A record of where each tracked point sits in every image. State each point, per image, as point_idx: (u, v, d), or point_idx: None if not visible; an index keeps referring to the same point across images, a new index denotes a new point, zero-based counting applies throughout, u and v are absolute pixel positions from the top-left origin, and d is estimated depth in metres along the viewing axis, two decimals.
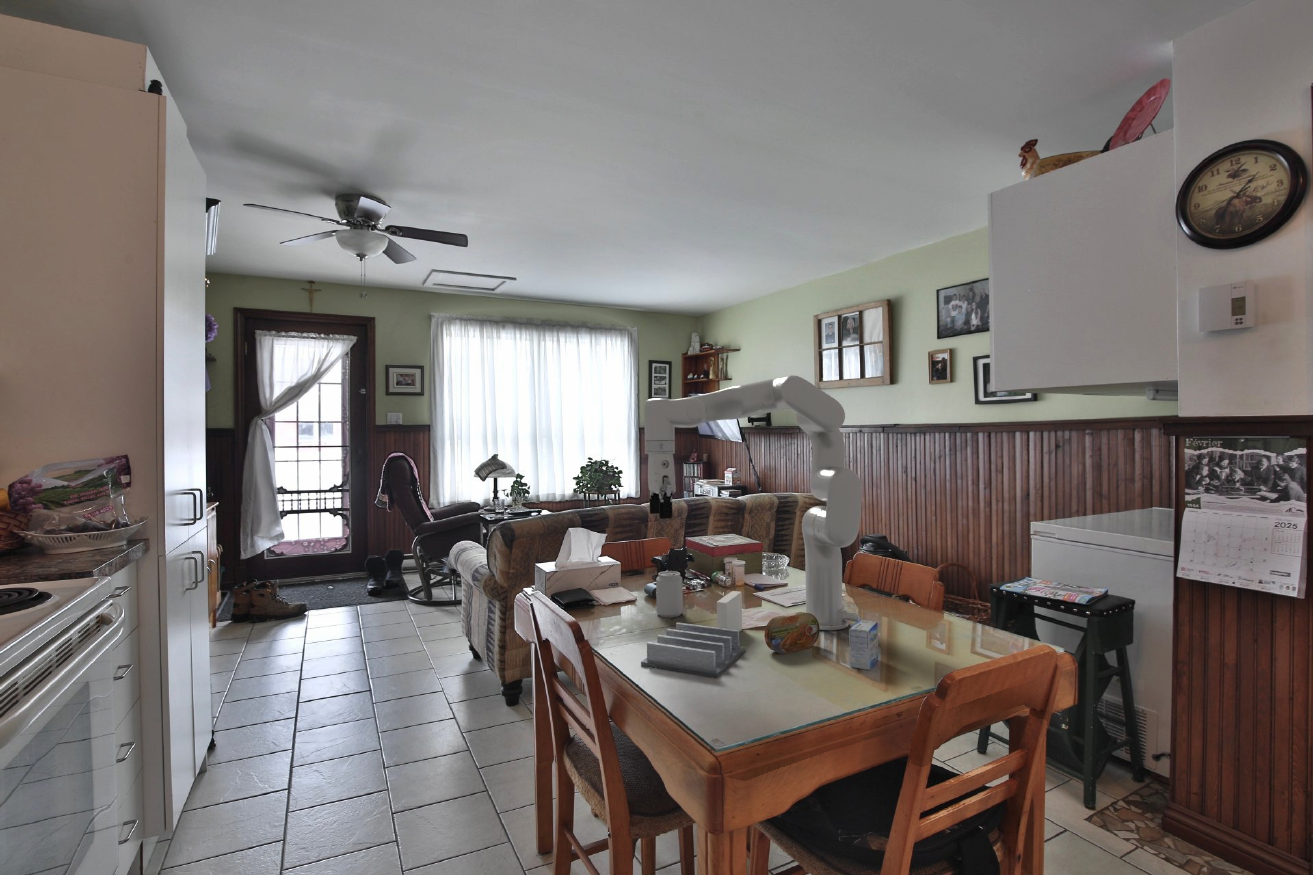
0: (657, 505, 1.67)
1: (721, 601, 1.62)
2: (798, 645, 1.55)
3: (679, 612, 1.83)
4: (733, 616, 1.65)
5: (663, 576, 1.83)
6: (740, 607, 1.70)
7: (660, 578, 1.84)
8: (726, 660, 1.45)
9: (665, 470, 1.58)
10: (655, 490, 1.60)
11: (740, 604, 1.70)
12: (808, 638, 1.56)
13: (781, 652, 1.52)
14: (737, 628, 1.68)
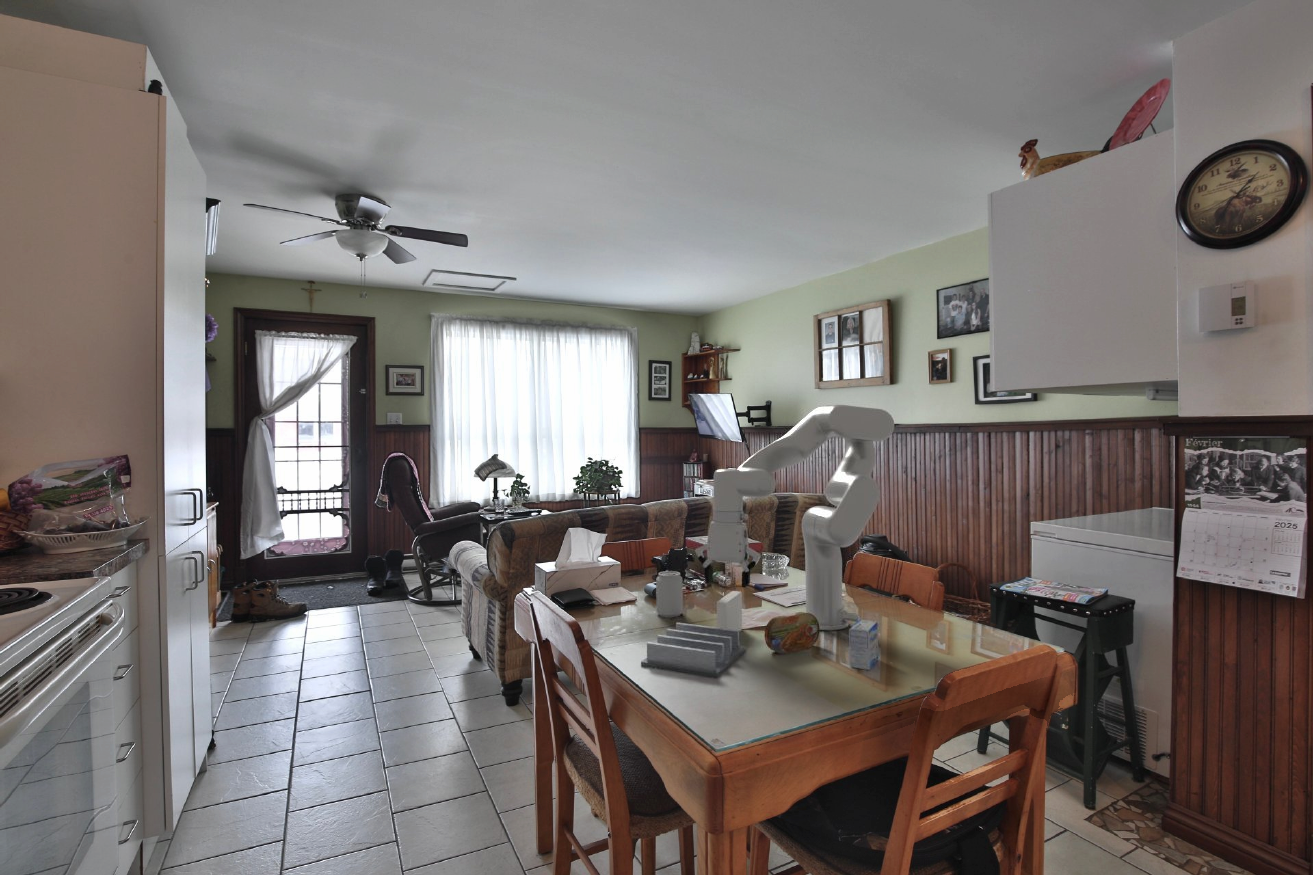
0: (711, 574, 1.68)
1: (721, 601, 1.62)
2: (798, 645, 1.55)
3: (679, 612, 1.83)
4: (733, 616, 1.65)
5: (663, 576, 1.83)
6: (740, 607, 1.70)
7: (660, 578, 1.84)
8: (726, 660, 1.45)
9: (746, 540, 1.64)
10: (736, 560, 1.63)
11: (740, 604, 1.70)
12: (808, 638, 1.56)
13: (781, 652, 1.52)
14: (737, 628, 1.68)
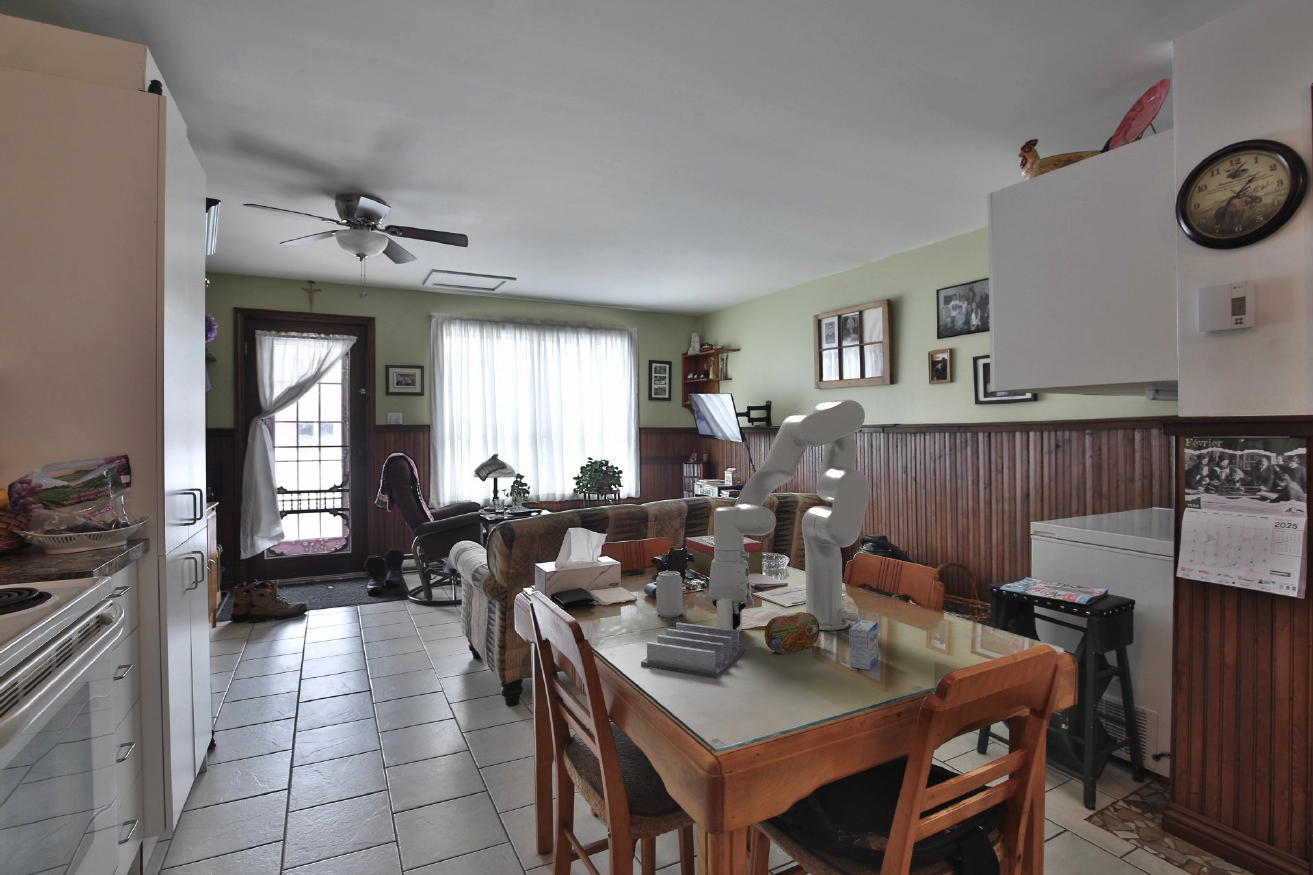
0: None
1: (721, 600, 1.62)
2: (798, 645, 1.55)
3: (679, 612, 1.83)
4: None
5: (663, 576, 1.83)
6: None
7: (660, 578, 1.84)
8: (726, 660, 1.45)
9: (748, 578, 1.64)
10: (738, 599, 1.63)
11: None
12: (808, 638, 1.56)
13: (781, 652, 1.52)
14: (737, 628, 1.68)
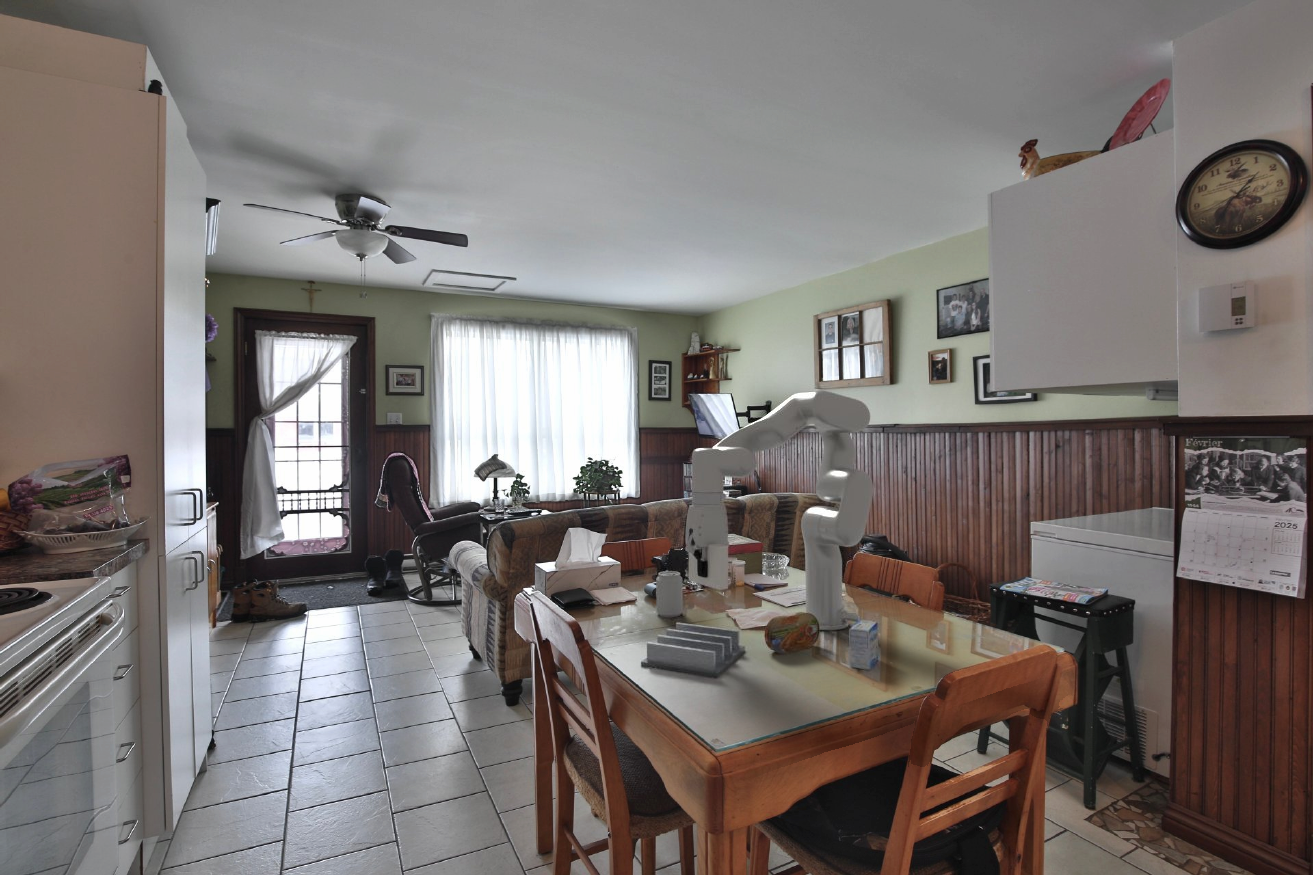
0: None
1: (719, 545, 1.52)
2: (798, 645, 1.55)
3: (679, 612, 1.83)
4: None
5: (663, 576, 1.83)
6: None
7: (660, 578, 1.83)
8: (726, 660, 1.45)
9: None
10: (723, 542, 1.56)
11: None
12: (808, 638, 1.56)
13: (781, 652, 1.52)
14: None
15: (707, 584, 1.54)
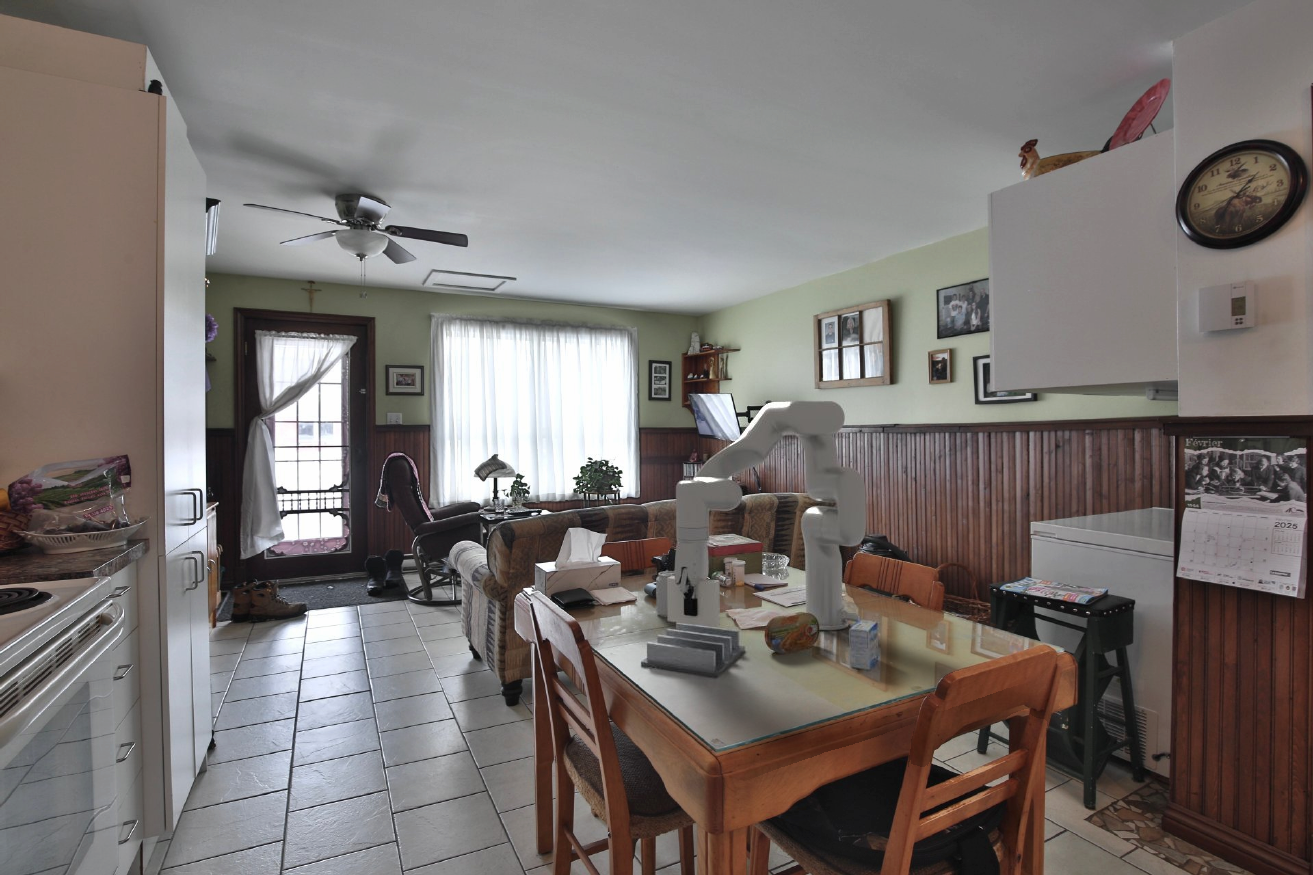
0: None
1: (712, 581, 1.47)
2: (798, 645, 1.55)
3: None
4: None
5: (663, 576, 1.83)
6: None
7: (660, 578, 1.84)
8: (726, 660, 1.45)
9: None
10: (706, 576, 1.52)
11: None
12: (808, 638, 1.56)
13: (781, 652, 1.52)
14: None
15: (697, 622, 1.48)
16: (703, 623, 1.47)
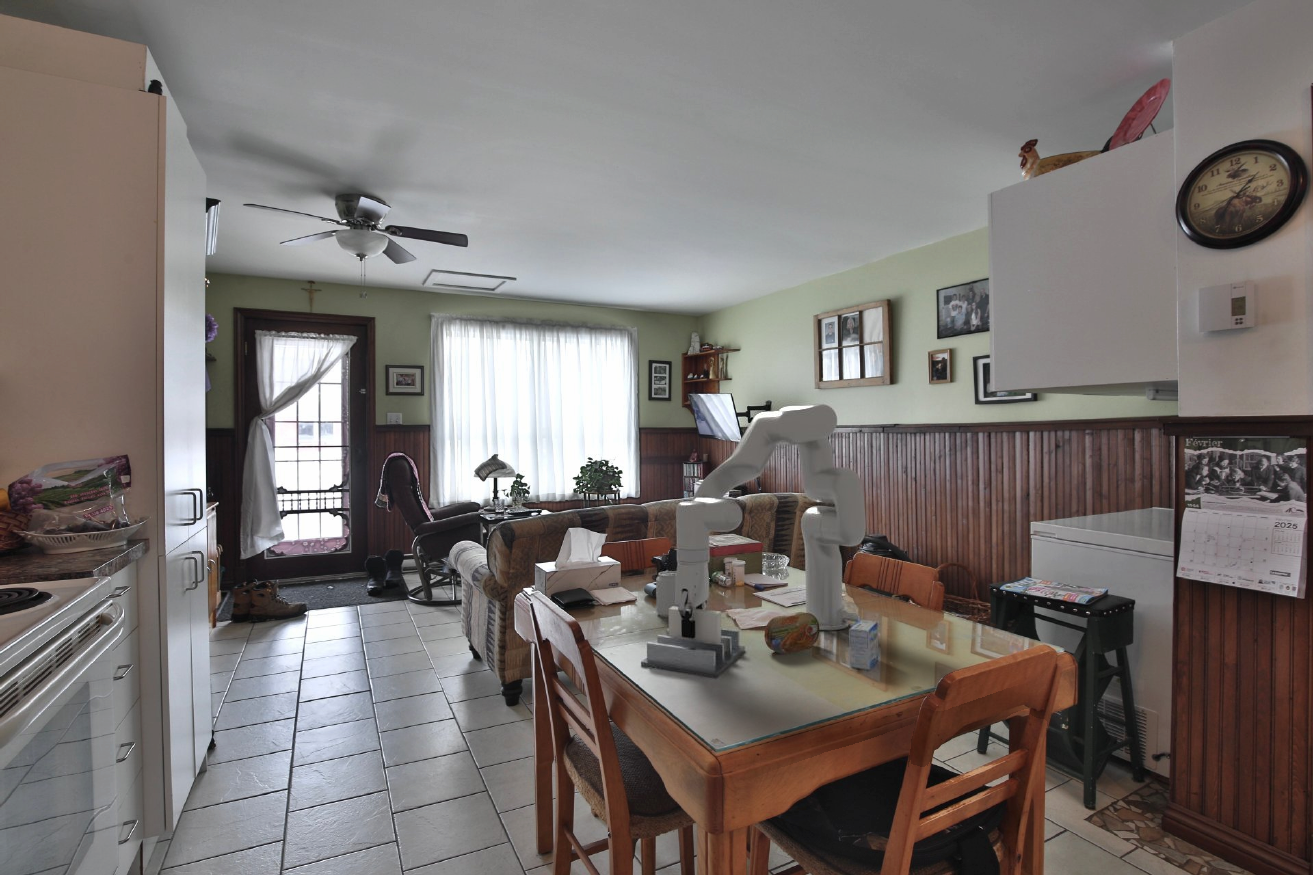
0: None
1: (714, 612, 1.48)
2: (798, 645, 1.55)
3: None
4: None
5: (663, 576, 1.83)
6: None
7: (660, 578, 1.84)
8: (726, 660, 1.45)
9: None
10: (706, 597, 1.52)
11: None
12: (808, 638, 1.56)
13: (781, 652, 1.52)
14: None
15: None
16: None
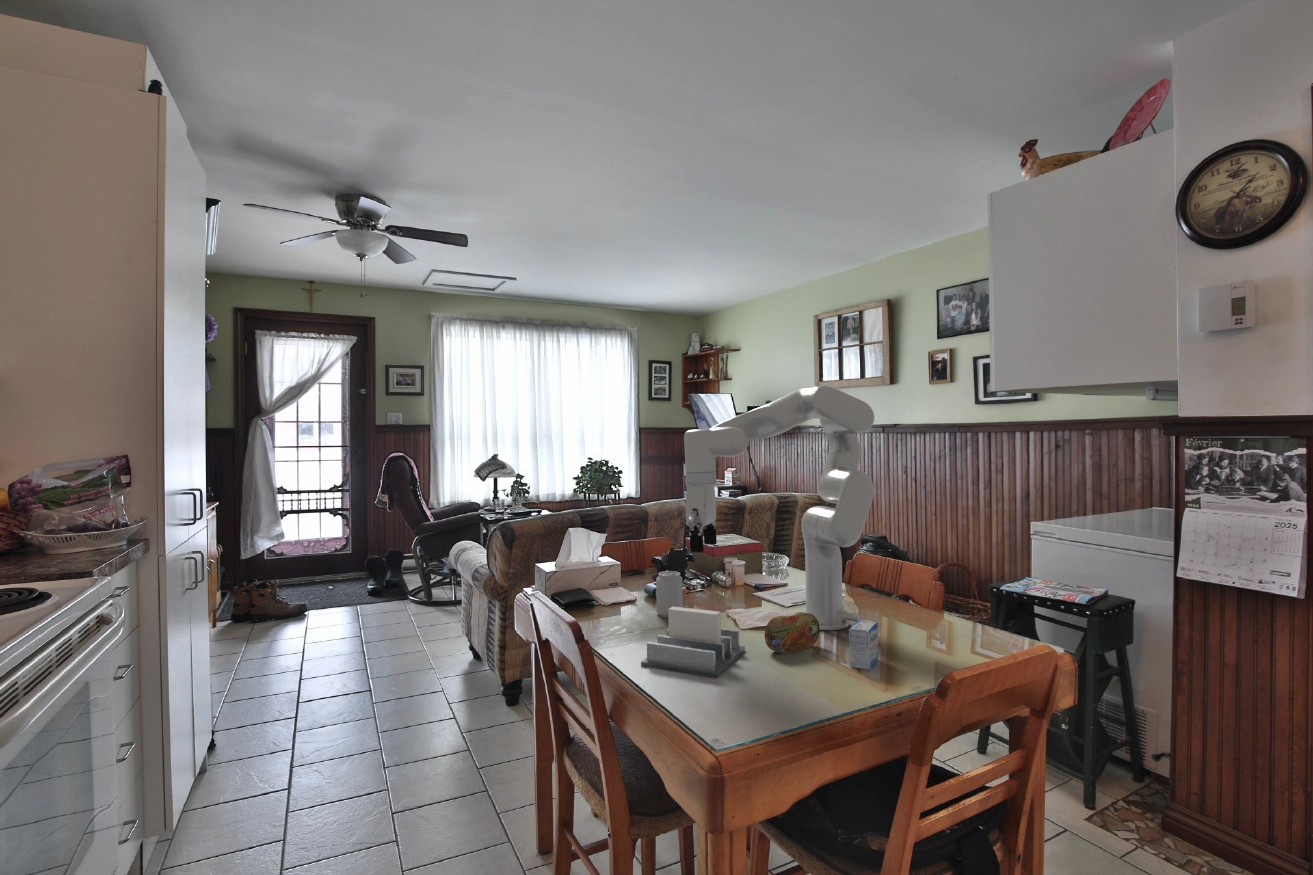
0: None
1: (713, 612, 1.48)
2: (798, 645, 1.55)
3: None
4: None
5: (663, 576, 1.83)
6: None
7: (660, 578, 1.84)
8: (726, 660, 1.45)
9: None
10: (714, 519, 1.63)
11: None
12: (808, 638, 1.56)
13: (781, 652, 1.52)
14: None
15: None
16: None
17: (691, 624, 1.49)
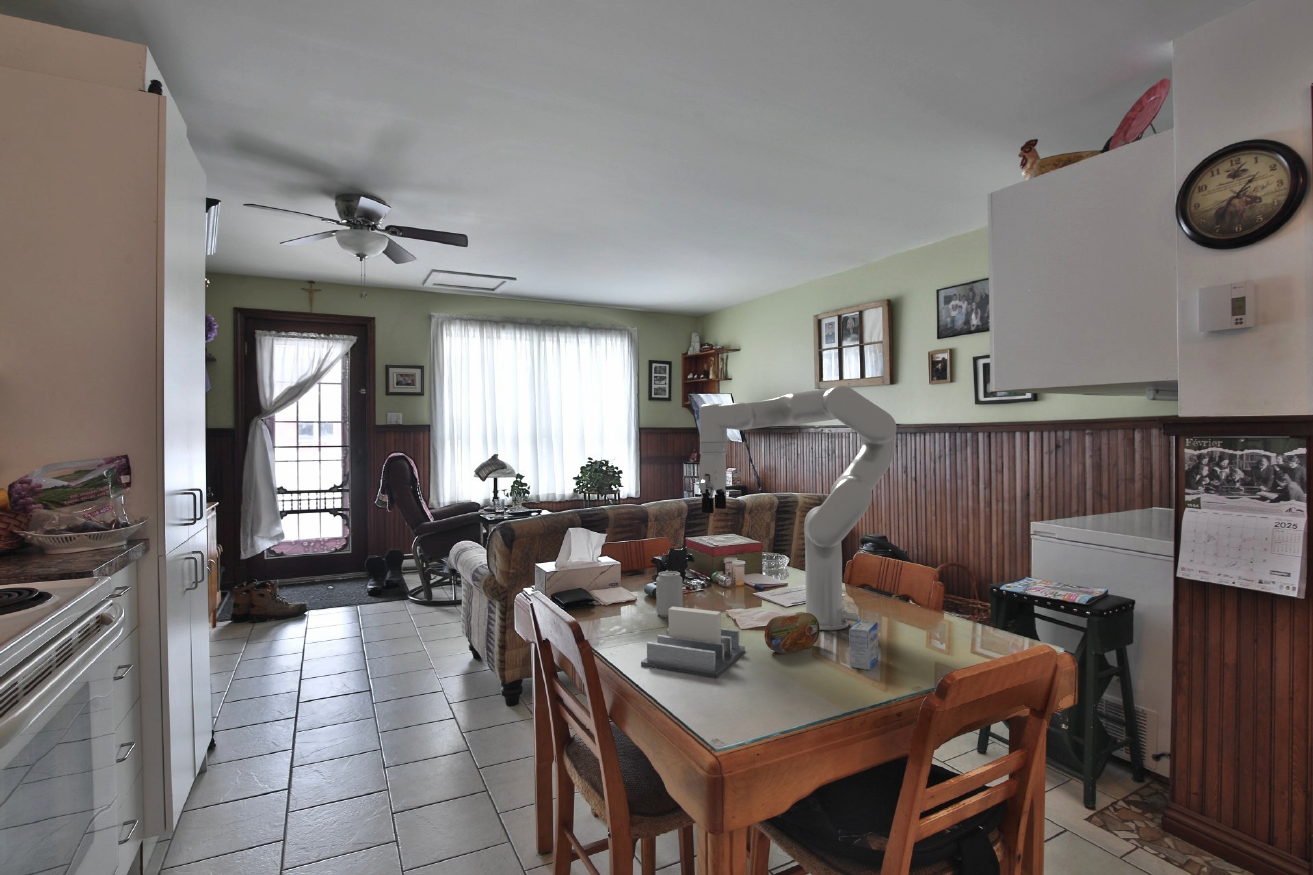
0: None
1: (713, 612, 1.48)
2: (798, 645, 1.55)
3: None
4: None
5: (663, 576, 1.83)
6: None
7: (660, 578, 1.84)
8: (726, 660, 1.45)
9: None
10: (724, 485, 1.81)
11: None
12: (808, 638, 1.56)
13: (781, 652, 1.52)
14: None
15: None
16: None
17: (691, 624, 1.49)
